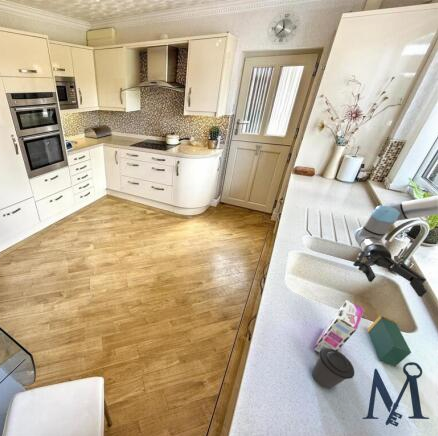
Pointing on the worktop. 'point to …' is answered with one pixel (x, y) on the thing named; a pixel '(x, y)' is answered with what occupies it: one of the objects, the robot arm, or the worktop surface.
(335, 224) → the worktop surface
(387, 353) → the carton
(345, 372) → the coffee cup
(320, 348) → the candy bar box
